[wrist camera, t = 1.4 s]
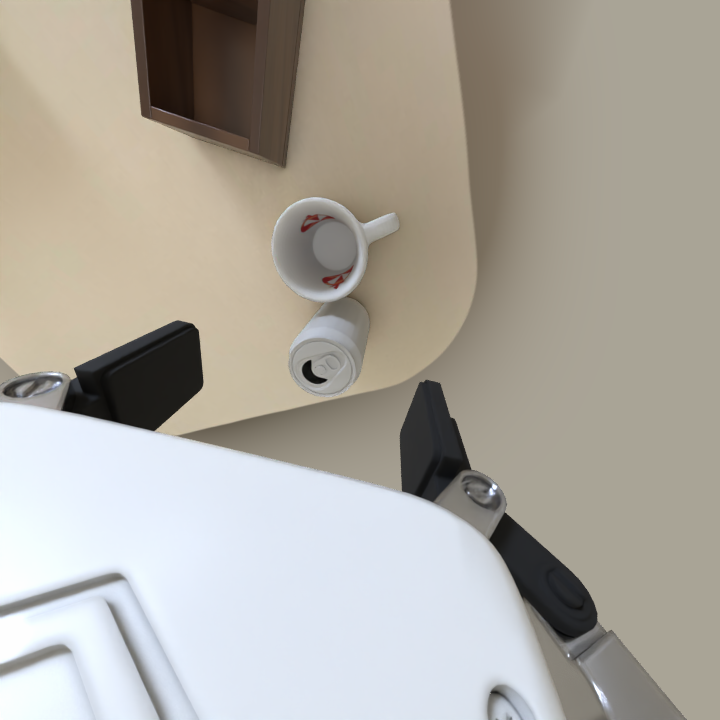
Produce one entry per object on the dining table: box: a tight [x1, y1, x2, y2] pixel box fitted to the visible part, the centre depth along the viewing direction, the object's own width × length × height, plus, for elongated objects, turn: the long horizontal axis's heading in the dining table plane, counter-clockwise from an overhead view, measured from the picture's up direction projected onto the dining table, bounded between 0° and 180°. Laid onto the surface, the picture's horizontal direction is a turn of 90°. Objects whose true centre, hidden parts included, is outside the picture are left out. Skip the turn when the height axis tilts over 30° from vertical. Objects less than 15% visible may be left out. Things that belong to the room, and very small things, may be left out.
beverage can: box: [289, 297, 370, 397], centre depth 27 cm, size 6×6×12 cm
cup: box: [272, 197, 400, 302], centre depth 24 cm, size 11×8×8 cm
